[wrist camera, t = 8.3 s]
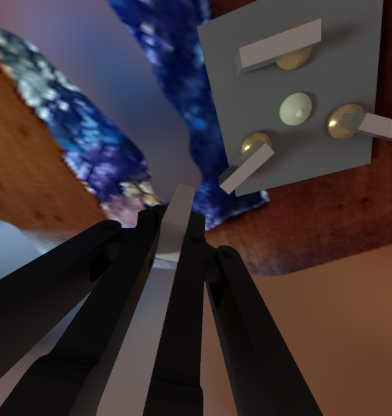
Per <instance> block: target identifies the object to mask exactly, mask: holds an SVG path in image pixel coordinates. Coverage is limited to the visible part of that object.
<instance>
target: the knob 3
mask: <svg viewBox="0 0 392 416" xmlns="http://www.w3.org/2000/svg"><path fill="white" fill-rule="evenodd" d="M325 131H326V133H327V134H328V135H329V136H330V137H332V138H337V139H346V138H349V137H351V136H353V135H354V134H355V133H360V134H364V135H368V136H372V137H376V138H380V139H383V140H387V141H392V119H389V118H385V117H381V116H378V115H374V114H370V113H364V110H363V109H362V107H361V106H359V105H357V104H345V105H341V106H338V107H336V108H335V109H334V110H332V111H331V113H330V114H329V115H328V117H327V119H326V121H325Z"/></svg>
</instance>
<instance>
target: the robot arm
mask: <svg viewBox="0 0 392 416" xmlns="http://www.w3.org/2000/svg"><path fill="white" fill-rule="evenodd" d="M194 193H195V188H193V187H189V186H185V185H181V184H179V185H178V187H177V190H176V191H175V194H174V196H173V198H172V200H171V202H170V204H169V206H168V207H166V206H162V205H158V204H157V205H155V206H153V207H152V209H151V210H149V209H148V210H142V211H140V212H138V220H137V225H136V227H135V228H122V225H121V223H120V222H118V221H115V220H103V221H101V222H98V223H97V224H95V225H93V226H92V227H90V228H88V229H86V230H85V231H83V232H81V233H79V234H78V235H76V236H74V237H73V238H71V239H69V240H67V241H66V242H64V243H62V244H60V245H59V246H57V247H55V248H54V249H52V250H50V251H48V252H47V253H45V254H43V255H42V256H40V257H38V258H36V259H35V260H33V261H31V262H29V263H28V264H26V265H24V266H23V267H21V268H19V269H17V270H16V271H14V272H12V273H10V274H9V275H7V276H6V277H4V278H2V279H0V378H1V377H2V376H3V375H4V374H6V373H7V372H8V371H9V370H10V369H11V368H12V367H13V366H14V365H15V364H16V363H17V362H18V361H19V360H20V359H21V358H22V357H23V356H24V355H25V354H26V353H27V352H28V351H29V350H31V349H32V348H33V347H34V346H35V345H36V344H37V343H38V342H39V341H40V340H41V339H42V338H43V337H44V336H45V335H46V334H47V333H48V332H49V331H50V330H51V329H52V328H53V327H54V326H56V325H57V324H58V323H59V322H60V321H61V320H62V319H63V318H64V317H65V316H66V315H67V314H68V313H69V312H70V311H71V310H72V309H73V308H74V307H75V306H76V305H77V304H78V303H79V302H80V301H81V300H83V299H84V298H85V297H86V296H87V295H88V294H89V293H90V292H91V291H92V292H91V293H90V295H89V296H88V298H87V299H86V301H85V302H84V304H83V305H82V307H81V308H80V310H79V311H78V313H77V314H76V316H75V317H74V319H73V320H72V322H71V323H70V325H69V326H68V327H67V329H66V331H65V332H64V333H63V335H62V336H61V338H60V339H59V341H58V342H57V344H56V345H55V347H54V348H53V349H52V350H51V352H50V353H48V354H47V355H44V356H42V357H39V358H38V359H37V360H36V361H35V362H34V363H33V364H32V365H31V366H30V367H29V369H28V370H27V371H26V372H25V374H24V375H23V376H22V378H21V379H20V381H19V382H18V383H17V385H16V386H15V388H14V389H13V390H12V392H11V393H10V394H9V396H8V397H7V399H6V400H5V401H4V403H3V404H2V405H1V407H0V416H96V413H97V409H98V406H99V402H100V400H101V397H102V394H103V392H104V389H105V387H106V384H107V381H108V379H109V376H110V374H111V371H112V369H113V366H114V363H115V361H116V358H117V356H118V353H119V351H120V348H121V345H122V343H123V340H124V337H125V335H126V333H127V330H128V327H129V325H130V322H131V320H132V317H133V314H134V312H135V309H136V307H137V304H138V301H139V299H140V296H141V294H142V291H143V289H144V286H145V283H146V281H147V278H148V276H149V273H150V271H151V268H152V266H153V263H154V257H155V254H156V257H157V258H162V259H166V260H170V261H175V262H178V264H177V268H176V273H175V277H174V281H173V286H172V290H171V295H170V299H169V303H168V307H167V311H166V316H165V320H164V324H163V329H162V333H161V337H160V342H159V346H158V350H157V355H156V359H155V363H154V368H153V372H152V377H151V381H150V385H149V389H148V394H147V398H146V402H145V407H144V411H143V415H142V416H203V391H202V388H201V386H200V362H201V340H202V339H201V338H202V318H203V295H204V281H205V282H206V288H207V292H208V296H209V300H210V304H211V308H212V312H213V316H214V320H215V324H216V328H217V332H218V337H219V340H220V345H221V349H222V353H223V356H224V361H225V365H226V369H227V373H228V377H229V381H230V385H231V389H232V393H233V397H234V401H235V405H236V409H237V413H238V416H323V414H322V413H321V411H320V409H319V407H318V405H317V403H316V401H315V399H314V397H313V395H312V393H311V391H310V389H309V387H308V385H307V384H306V382H305V380H304V378H303V376H302V374H301V372H300V370H299V368H298V366H297V364H296V362H295V361H294V358H293V357H292V355H291V353H290V351H289V349H288V347H287V345H286V343H285V341H284V339H283V337H282V335H281V333H280V332H279V330H278V328H277V326H276V324H275V322H274V320H273V318H272V316H271V314H270V312H269V310H268V309H267V307H266V305H265V303H264V301H263V299H262V297H261V295H260V293H259V291H258V289H257V288H256V285H255V284H254V282H253V280H252V278H251V276H250V274H249V272H248V270H247V268H246V266H245V264H244V262H243V260H242V258H241V257H240V255H239V253H238V252H237V250H235V249H234V248H232V247H230V246H226V245H221V246H219V247H218V248H217V249H216V248H214V247H212V246H210V245H209V244H208V243H207V242H206V238H205V237H204V236H205V217H204V215H203V214H198V213H194V212H190V211H191V207H192V202H193V197H194Z"/></svg>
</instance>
